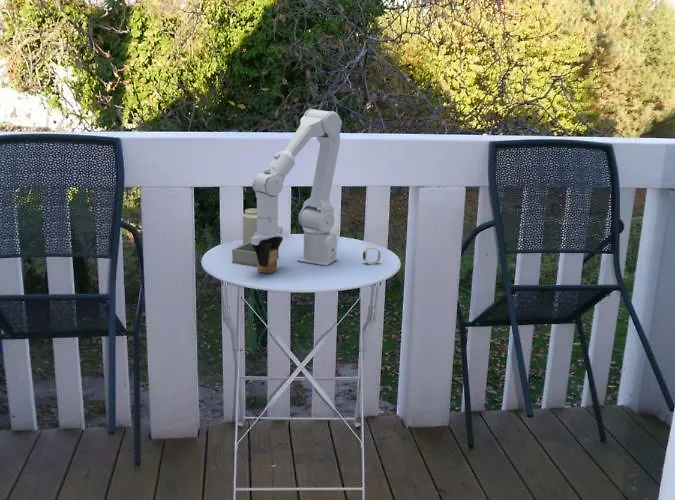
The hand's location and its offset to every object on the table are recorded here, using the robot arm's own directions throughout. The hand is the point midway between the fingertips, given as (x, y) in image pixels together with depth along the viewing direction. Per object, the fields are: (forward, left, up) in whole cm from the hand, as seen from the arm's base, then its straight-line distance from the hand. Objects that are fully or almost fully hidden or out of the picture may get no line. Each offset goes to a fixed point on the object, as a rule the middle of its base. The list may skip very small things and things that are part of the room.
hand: (267, 264), depth 204 cm
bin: (+9, -8, -2) cm, 12 cm away
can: (+16, -21, -2) cm, 27 cm away
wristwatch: (-23, -22, -2) cm, 32 cm away
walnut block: (0, 0, -2) cm, 2 cm away
